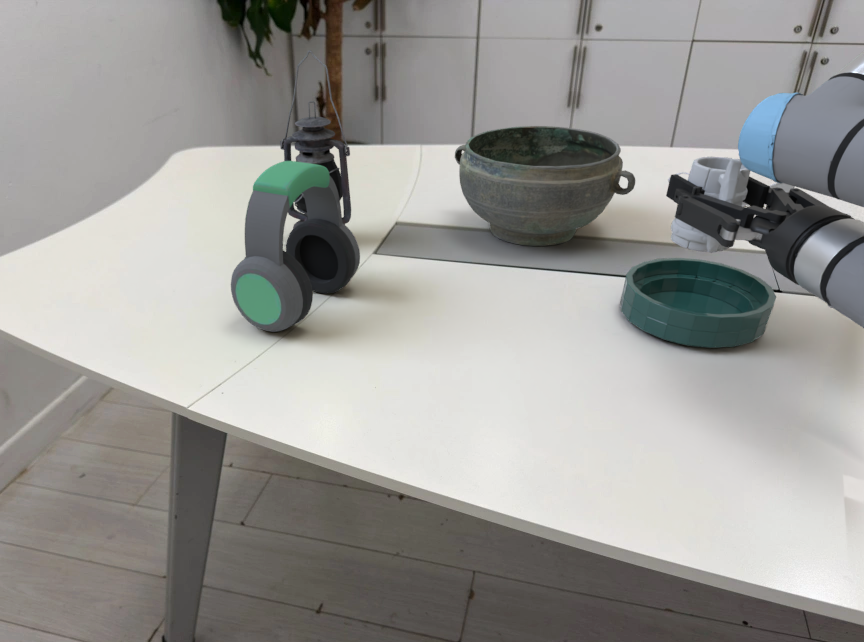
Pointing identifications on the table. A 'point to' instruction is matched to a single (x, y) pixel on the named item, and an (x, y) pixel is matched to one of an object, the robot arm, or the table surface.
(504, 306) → the table surface
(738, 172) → the mug
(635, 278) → the dish
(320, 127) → the lantern
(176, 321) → the table surface
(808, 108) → the robot arm
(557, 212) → the bowl
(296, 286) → the headphones
